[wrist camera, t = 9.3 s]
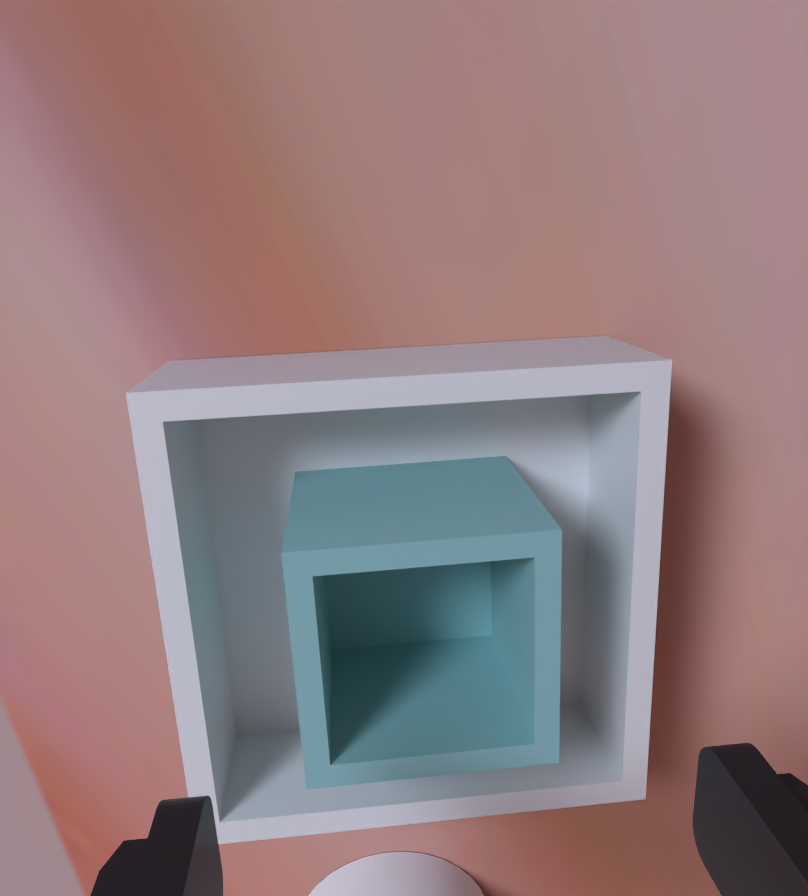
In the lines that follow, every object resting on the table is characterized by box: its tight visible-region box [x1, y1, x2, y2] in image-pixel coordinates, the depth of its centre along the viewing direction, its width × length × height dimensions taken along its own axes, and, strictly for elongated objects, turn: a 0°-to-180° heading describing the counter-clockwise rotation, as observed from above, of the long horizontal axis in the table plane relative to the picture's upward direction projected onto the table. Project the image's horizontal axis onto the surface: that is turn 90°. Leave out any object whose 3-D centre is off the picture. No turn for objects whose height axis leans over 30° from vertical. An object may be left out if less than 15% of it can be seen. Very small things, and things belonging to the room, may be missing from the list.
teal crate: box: [281, 456, 562, 790], centre depth 19 cm, size 6×6×6 cm
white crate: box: [126, 336, 672, 844], centre depth 20 cm, size 12×12×4 cm
